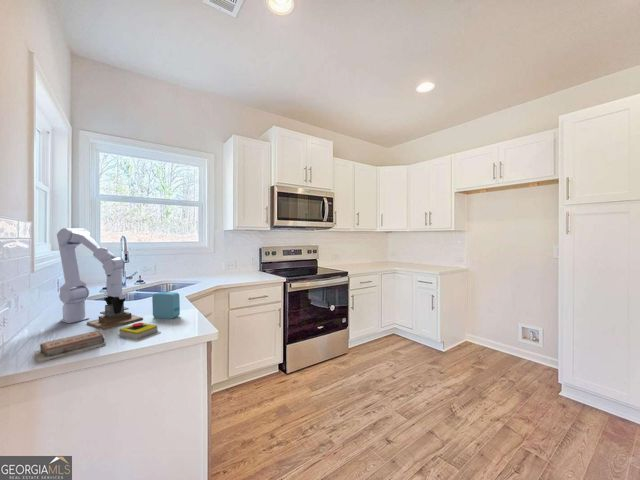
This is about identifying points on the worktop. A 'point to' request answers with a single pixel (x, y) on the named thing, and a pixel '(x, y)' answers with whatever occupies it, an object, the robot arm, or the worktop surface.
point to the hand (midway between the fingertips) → (115, 312)
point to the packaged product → (69, 346)
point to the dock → (114, 321)
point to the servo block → (112, 311)
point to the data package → (166, 305)
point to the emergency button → (139, 331)
